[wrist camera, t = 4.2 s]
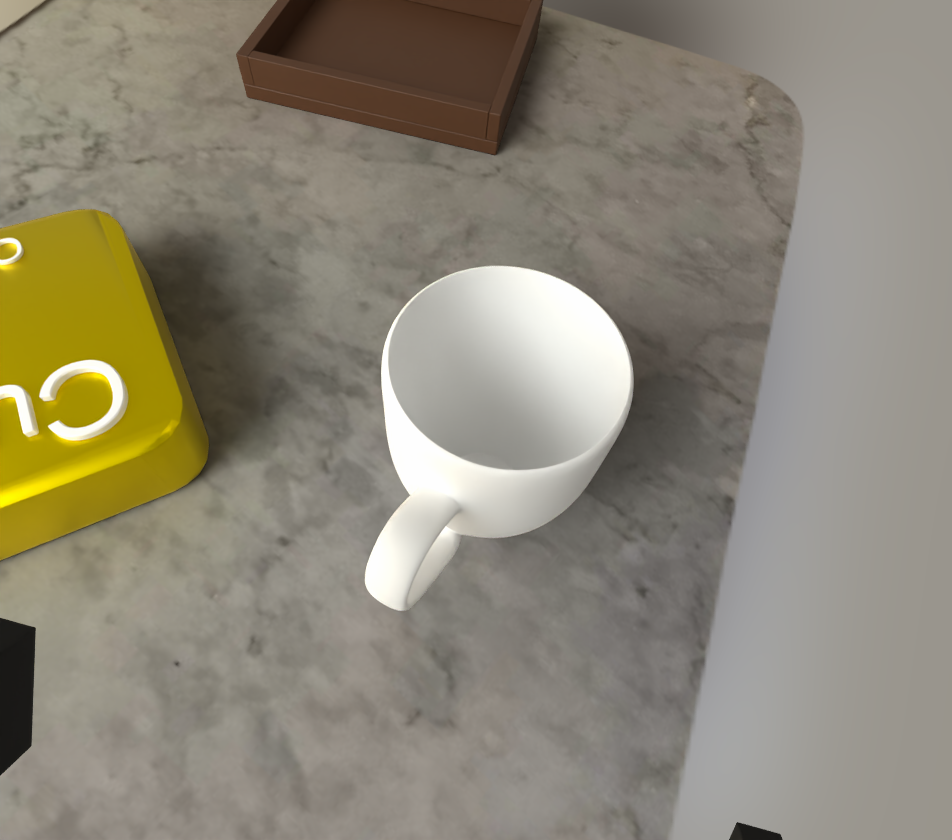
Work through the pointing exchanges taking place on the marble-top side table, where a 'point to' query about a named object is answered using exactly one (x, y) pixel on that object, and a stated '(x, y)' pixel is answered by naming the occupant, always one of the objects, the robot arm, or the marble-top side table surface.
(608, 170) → the marble-top side table surface
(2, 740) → the robot arm
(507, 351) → the mug
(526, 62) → the tray
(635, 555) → the marble-top side table surface
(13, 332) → the element tile
